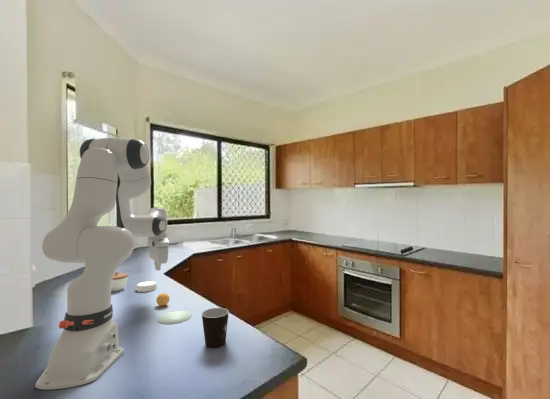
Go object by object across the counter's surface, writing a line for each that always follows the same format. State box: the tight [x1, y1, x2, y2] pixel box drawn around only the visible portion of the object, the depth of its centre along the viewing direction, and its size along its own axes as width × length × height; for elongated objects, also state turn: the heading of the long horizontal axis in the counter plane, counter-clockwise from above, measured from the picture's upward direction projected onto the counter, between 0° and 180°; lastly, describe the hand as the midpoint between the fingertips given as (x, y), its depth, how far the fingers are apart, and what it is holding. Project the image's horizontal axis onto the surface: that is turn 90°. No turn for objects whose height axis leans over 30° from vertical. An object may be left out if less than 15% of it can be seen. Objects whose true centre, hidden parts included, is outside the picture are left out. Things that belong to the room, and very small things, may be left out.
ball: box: [155, 292, 170, 307], centre depth 127 cm, size 6×6×6 cm
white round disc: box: [136, 280, 158, 293], centre depth 153 cm, size 10×10×4 cm
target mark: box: [156, 310, 192, 325], centre depth 114 cm, size 13×13×1 cm
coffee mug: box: [201, 307, 230, 349], centre depth 93 cm, size 12×9×10 cm
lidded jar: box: [111, 271, 128, 292], centre depth 153 cm, size 11×11×9 cm
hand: (157, 269), depth 135 cm, fingers closed
